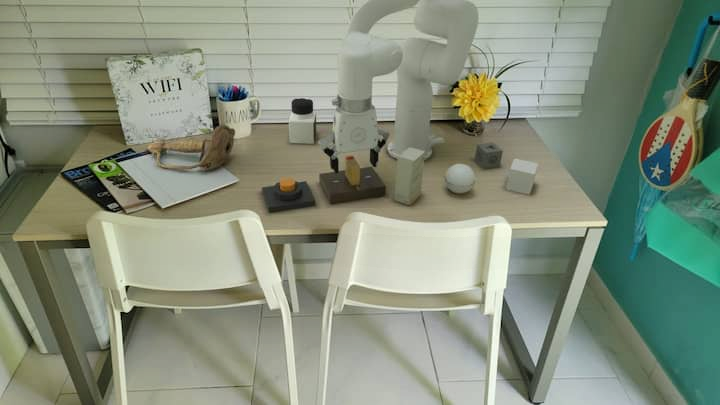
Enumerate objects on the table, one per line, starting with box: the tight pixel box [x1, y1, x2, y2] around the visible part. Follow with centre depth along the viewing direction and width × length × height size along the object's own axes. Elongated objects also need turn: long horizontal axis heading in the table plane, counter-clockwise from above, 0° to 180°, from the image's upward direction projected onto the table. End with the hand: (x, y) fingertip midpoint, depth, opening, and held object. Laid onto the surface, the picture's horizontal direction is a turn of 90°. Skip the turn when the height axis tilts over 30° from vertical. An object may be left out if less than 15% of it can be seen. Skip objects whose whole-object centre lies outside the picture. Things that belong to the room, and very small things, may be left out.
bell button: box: [279, 177, 296, 192], centre depth 120 cm, size 4×4×2 cm
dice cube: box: [474, 141, 503, 170], centre depth 139 cm, size 5×5×5 cm
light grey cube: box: [505, 158, 539, 196], centre depth 130 cm, size 6×6×6 cm
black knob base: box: [261, 180, 316, 214], centre depth 122 cm, size 11×9×4 cm
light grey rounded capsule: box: [444, 163, 476, 194], centre depth 125 cm, size 10×7×7 cm
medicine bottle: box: [288, 96, 317, 145], centre depth 147 cm, size 7×7×12 cm
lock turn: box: [344, 155, 361, 186], centre depth 124 cm, size 6×2×5 cm, turn 19°
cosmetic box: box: [393, 147, 425, 206], centre depth 122 cm, size 6×4×12 cm
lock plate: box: [318, 166, 387, 205], centre depth 126 cm, size 14×10×3 cm
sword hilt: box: [144, 124, 236, 172], centre depth 135 cm, size 10×24×15 cm
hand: (354, 167), depth 124 cm, fingers open, 9 cm apart
